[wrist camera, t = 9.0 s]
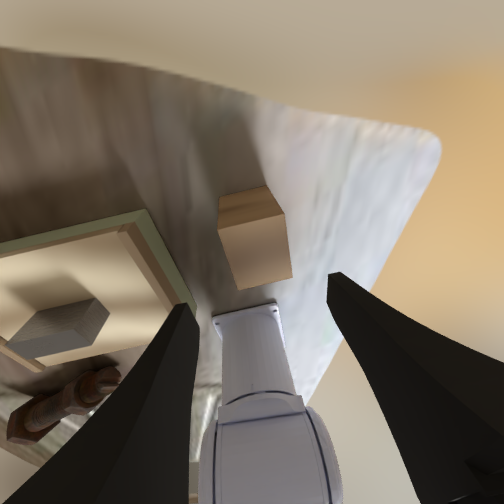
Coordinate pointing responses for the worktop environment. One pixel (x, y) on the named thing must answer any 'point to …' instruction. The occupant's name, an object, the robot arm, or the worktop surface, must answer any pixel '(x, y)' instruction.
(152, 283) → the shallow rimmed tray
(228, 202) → the block
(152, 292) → the lid
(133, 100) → the worktop surface
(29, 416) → the bolt
